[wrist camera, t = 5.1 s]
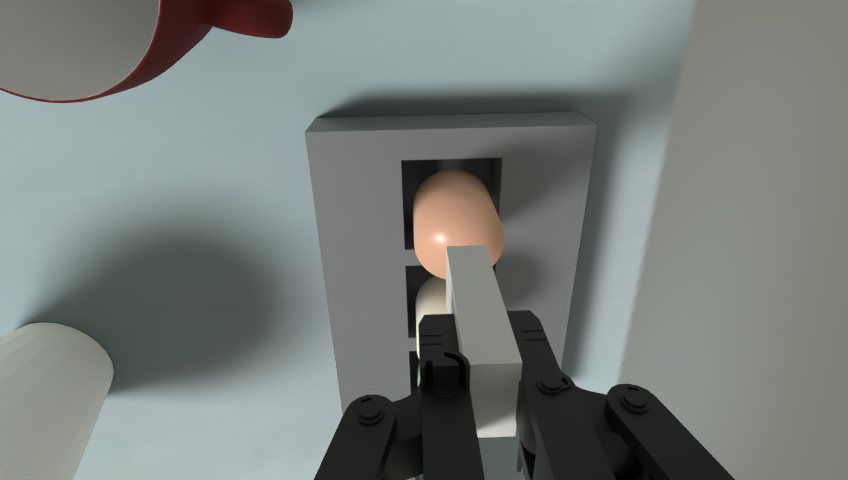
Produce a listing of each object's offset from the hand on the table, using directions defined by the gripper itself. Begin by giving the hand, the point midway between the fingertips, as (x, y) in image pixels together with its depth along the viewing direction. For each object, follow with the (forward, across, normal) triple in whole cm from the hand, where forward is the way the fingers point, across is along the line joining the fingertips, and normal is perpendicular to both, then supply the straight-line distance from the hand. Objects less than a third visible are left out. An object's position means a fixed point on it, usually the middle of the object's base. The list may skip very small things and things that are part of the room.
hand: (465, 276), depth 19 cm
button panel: (+10, 0, -6) cm, 11 cm away
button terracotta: (+7, 0, 0) cm, 7 cm away
